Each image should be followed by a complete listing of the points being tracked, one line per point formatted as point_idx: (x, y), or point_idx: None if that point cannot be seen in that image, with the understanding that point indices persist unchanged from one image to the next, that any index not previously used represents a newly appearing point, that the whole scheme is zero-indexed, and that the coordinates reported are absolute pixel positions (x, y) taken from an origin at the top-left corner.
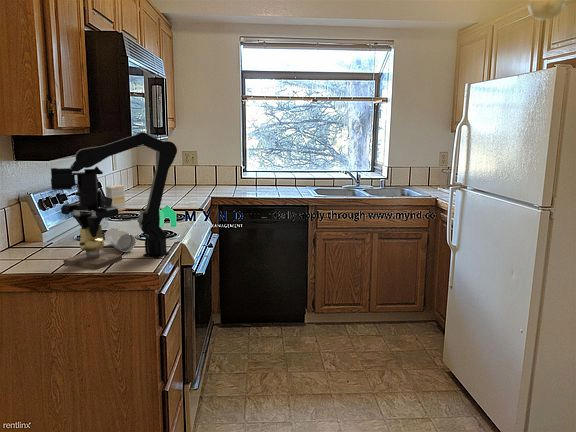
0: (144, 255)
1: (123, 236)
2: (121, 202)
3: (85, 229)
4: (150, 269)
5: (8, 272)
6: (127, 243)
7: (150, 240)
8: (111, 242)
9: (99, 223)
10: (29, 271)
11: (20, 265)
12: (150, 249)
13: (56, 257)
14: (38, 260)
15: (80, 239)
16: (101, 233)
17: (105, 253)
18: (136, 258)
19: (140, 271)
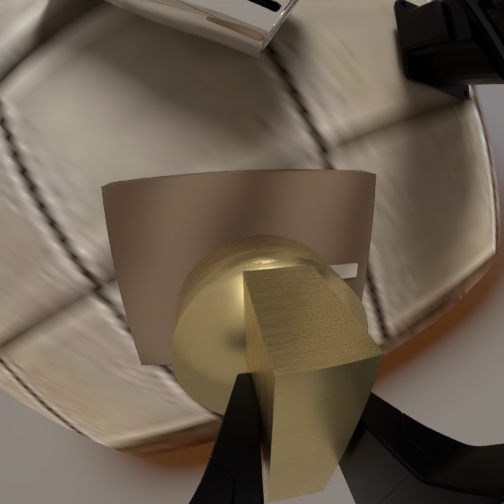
0: (415, 81)
1: None
2: None
3: (323, 485)
4: (487, 235)
5: (105, 441)
6: None
7: (500, 81)
8: (139, 14)
9: (432, 438)
10: (139, 428)
11: (53, 400)
12: (461, 82)
13: (25, 294)
14: (26, 348)
15: (201, 402)
16: (326, 289)
17: (251, 178)
18: (402, 122)
19: (473, 265)
